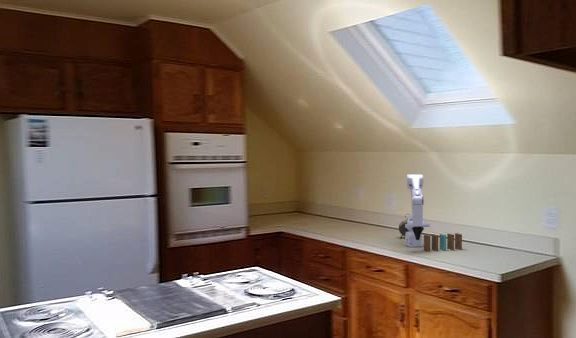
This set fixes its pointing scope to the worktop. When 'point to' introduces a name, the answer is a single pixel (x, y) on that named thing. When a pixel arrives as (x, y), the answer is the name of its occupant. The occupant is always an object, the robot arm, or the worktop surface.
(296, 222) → the worktop surface
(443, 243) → the teal domino
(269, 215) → the worktop surface
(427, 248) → the brown wooden block
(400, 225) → the alarm clock
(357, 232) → the worktop surface
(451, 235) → the domino
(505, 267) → the worktop surface
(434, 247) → the domino
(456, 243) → the domino
